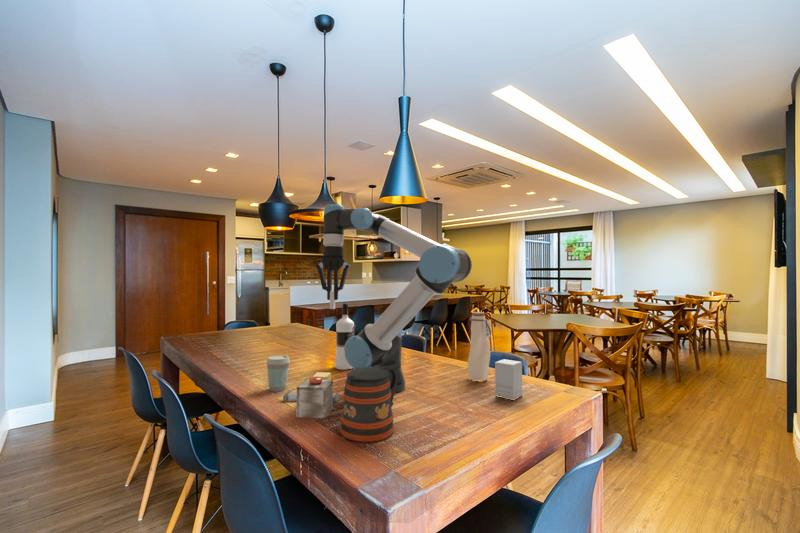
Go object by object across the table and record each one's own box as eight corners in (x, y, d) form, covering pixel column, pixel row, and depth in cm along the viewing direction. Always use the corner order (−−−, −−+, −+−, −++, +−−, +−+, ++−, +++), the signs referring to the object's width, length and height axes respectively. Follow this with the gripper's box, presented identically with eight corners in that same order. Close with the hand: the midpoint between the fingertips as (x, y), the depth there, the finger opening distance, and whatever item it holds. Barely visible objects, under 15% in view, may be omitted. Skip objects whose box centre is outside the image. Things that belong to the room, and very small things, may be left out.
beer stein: (374, 413, 120) (375, 349, 120) (413, 425, 111) (413, 355, 111) (329, 433, 104) (330, 359, 105) (369, 448, 96) (370, 367, 96)
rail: (338, 398, 134) (339, 392, 134) (335, 403, 129) (335, 397, 129) (288, 397, 135) (288, 391, 135) (283, 401, 130) (283, 395, 130)
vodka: (338, 365, 184) (339, 302, 185) (357, 366, 183) (357, 302, 183) (331, 369, 175) (332, 303, 176) (351, 370, 173) (351, 304, 174)
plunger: (323, 393, 122) (323, 376, 122) (320, 397, 118) (320, 380, 118) (310, 393, 123) (311, 376, 123) (307, 397, 119) (307, 379, 119)
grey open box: (332, 407, 125) (333, 379, 125) (325, 418, 116) (326, 387, 116) (305, 407, 125) (305, 379, 125) (296, 417, 116) (296, 387, 116)
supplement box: (523, 397, 138) (523, 361, 139) (513, 401, 133) (513, 364, 133) (504, 392, 143) (504, 358, 144) (494, 396, 138) (494, 361, 138)
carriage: (330, 397, 135) (331, 372, 135) (326, 402, 129) (327, 377, 129) (316, 396, 135) (317, 372, 135) (311, 402, 129) (312, 376, 129)
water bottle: (495, 379, 162) (495, 312, 162) (487, 384, 154) (488, 314, 155) (472, 375, 167) (472, 311, 168) (464, 380, 159) (464, 312, 160)
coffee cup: (282, 393, 139) (283, 360, 139) (261, 392, 141) (261, 359, 141) (293, 387, 147) (294, 355, 148) (273, 385, 149) (273, 354, 149)
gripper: (352, 247, 149) (351, 308, 148) (319, 246, 149) (318, 307, 149) (348, 245, 141) (347, 309, 140) (313, 245, 142) (312, 309, 141)
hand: (332, 308), depth 145 cm, fingers closed
